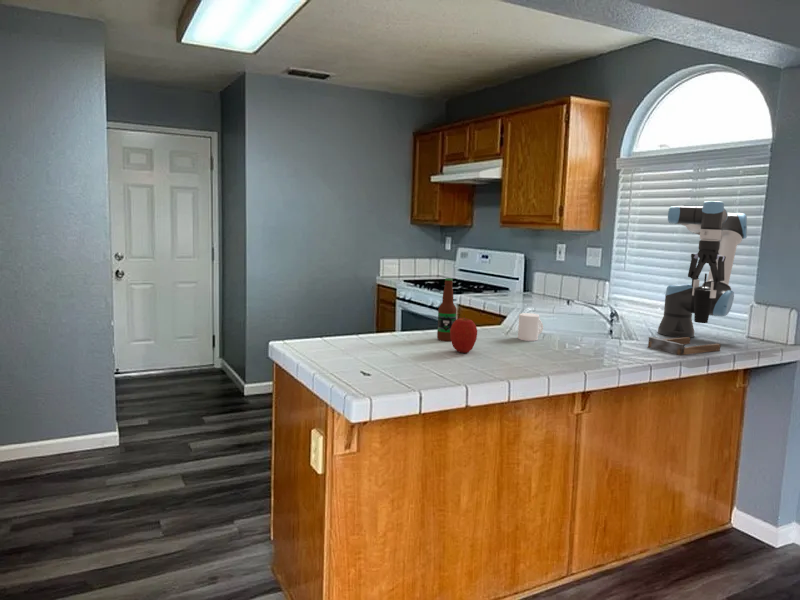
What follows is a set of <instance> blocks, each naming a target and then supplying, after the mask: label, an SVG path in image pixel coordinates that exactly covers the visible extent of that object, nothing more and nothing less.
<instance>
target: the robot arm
mask: <svg viewBox="0 0 800 600" xmlns="http://www.w3.org/2000/svg"><path fill="white" fill-rule="evenodd" d="M667 221H668V223H669V224H674V225H682V226H684V227H685V228H686V229H687V230H688V231H689V232H691V233H693V234H695V235H698V236H699V239H700V240H699V241H698V252H697V253H691V254H690V259H691V260H690V263H689V264H690V265H689V267H688V268H689V269H688V273H687V277H688V278H690V279H691V283H674V284H669V285H667V287H666V290H665V294H664V296H665V298H664V310H663V316H662V318H661V321H660V323H659V325H658V327H657V333H658V334H659V335H664V336H667V337H673V338H682V337H690V338H693V337H695V328H694V323H693V319H692V318H693V314H694V300H695V290H694V288H697V287H700V279H699V277H700V275H701V273H702V270H703V269H704V266H705V265H706V264H708V266H709V271H708V274H707V278H706V286H707V287H710V288H711V290H710V298H713V299H712V304H711V308H710V313H709V316H713V317H726V316H727V315H729V313H730V312H731V309H732V306H733V303H734V297H735V292H734V291H733V290H732V288H731V286H730V284H729V283H730V279H731V274H732V269H733V266H734V265H733V264H734V259H735V256H736V251H737V247H738V245H740V244H741V243H742V241H743V239H747V237H748V216H747V215H746V213H744V212H728V211H727V210H726V209H725V203H724V201H719V200H717V201H715V200H714V201H713V200H710V201H709V200H707V201H703V204H702V206H687V205H686V206H684V205H673V206H672V205H671V206H670V207H669V209H668V212H667ZM701 286H704V282H703V283H702V285H701Z"/></svg>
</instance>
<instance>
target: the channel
mask: <svg viewBox="0 0 800 600" xmlns="http://www.w3.org/2000/svg"><path fill="white" fill-rule="evenodd" d="M690 343H691V337H673V338H665V339H662V338H657V337H654V336H649V337H648V343H647V347H648V348H650V347H651V348H650V349H654V348H655V350H658V349H659V350H658V351H663V352H666V353H671V354H675V355H678V356H684V355H692V354H693V355H694V354H700V353H701V354H702V353H709V352H719V351H721V343H710V344H701V345H692V346H685V345H687V344H690Z"/></svg>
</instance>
